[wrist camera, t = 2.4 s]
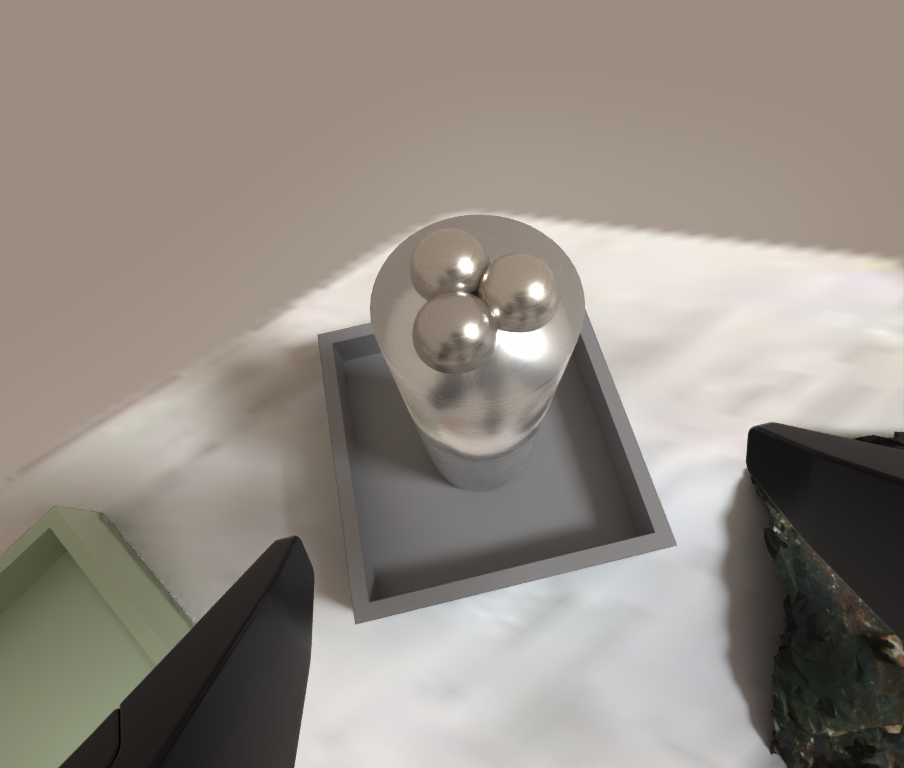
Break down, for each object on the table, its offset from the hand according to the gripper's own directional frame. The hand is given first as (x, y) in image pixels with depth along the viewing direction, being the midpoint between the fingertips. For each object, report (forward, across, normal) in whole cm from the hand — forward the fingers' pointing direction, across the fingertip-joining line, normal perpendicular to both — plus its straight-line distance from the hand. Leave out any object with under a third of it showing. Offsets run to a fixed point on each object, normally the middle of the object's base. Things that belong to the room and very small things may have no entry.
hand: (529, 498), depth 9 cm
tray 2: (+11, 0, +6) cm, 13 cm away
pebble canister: (+11, 0, +5) cm, 12 cm away
